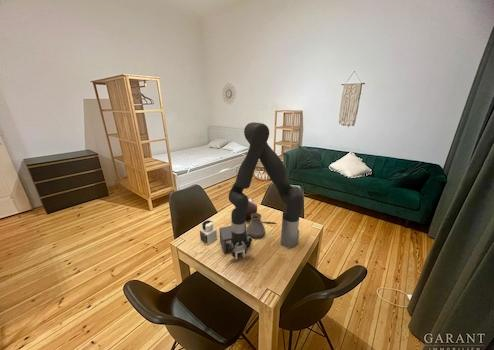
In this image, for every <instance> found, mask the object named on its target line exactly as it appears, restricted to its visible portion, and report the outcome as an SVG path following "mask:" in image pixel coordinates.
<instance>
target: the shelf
mask: <svg viewBox="0 0 494 350" xmlns="http://www.w3.org/2000/svg"><path fill="white" fill-rule="evenodd" d="M218 230H219V231H218V232H219V242H220V246H221V248H222V252H223V254H224V255H227V244H226V241H230V240H231V238H232V235H231V225H228V226H222V227H219V228H218ZM248 236H249V234H248V232H247V230H246V237H248ZM246 244H247V240H246V241H245V245H246ZM247 249H249V248H247Z"/></svg>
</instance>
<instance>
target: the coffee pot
mask: <svg viewBox="0 0 494 350" xmlns="http://www.w3.org/2000/svg"><path fill="white" fill-rule="evenodd" d="M264 224H267V225H274V227H277V222H274V221H262V215H261V213H258V212H257V213H253V214H252V215H251V219H250V222H249V223H248V226H247V228H246V231H247V233H248V236H251V238H252V237H253V238H260V237H261V236H263V235H264V233H265V232H266V228H265V226H264Z"/></svg>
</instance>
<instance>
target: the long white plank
mask: <svg viewBox="0 0 494 350" xmlns="http://www.w3.org/2000/svg"><path fill="white" fill-rule="evenodd" d="M230 248H232V243H231V245H230ZM240 253H241V255H242V257H243V259H245V258H246V255H245V249H244V247H243V245H242V246H238V247H237V249H236V250H235V258H234V259H235V260H238V254H240Z"/></svg>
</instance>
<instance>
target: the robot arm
mask: <svg viewBox="0 0 494 350" xmlns="http://www.w3.org/2000/svg"><path fill="white" fill-rule="evenodd" d="M243 134H244V138H245V140H246V141H247V142H248V143H249V147H248V148H249V149H248V151H247V153H246V156H245V158H244V159H243V161H242V162H241V164H240V166H239V169H238V170H237V174H236V178H235V182H234V183H233V184H232V187H231V188H230V190H229V192H228V200H229V203H231V204H232V205H233V206H234V208H233V209H232V210H231V215H230V217H231V223H230V224H231V225H230V226H231V235H232V238H231V240H230V241H226V248H227V249H228V250H227V251H228V252H229V253H231V256H232V258H234V259H235V250H236V249H237V247H238V246H242V245H243V247H244V249H245V256H246V254H247V251H248V250H247V248H248V249H250V248H251V245H252V242H253V238H252V236H251V235H248V237H246V231H247V227H248V226H247V220H246V212H247V208H248V204H249V200H248V198H249V197H248V195H246V194H245V193H243V191H244V190H246V189H250V187H251V184H252V181H253V180H252V179H253V177H254V172H255V170H256V168H257V165H258V162H259V161H260V164H261V165H262V166H263V168H264V170H265V172H266V174H267V176H268V177H269V179H270V181H271V182H272V183H273V185H274V186H275V188H276V190H277V192H278V194H279V196H280V199H281V202H282V203H283V204H284V205H285V206H286V209H285V210H284V211H282V217H281V231H280V232H281V233H280V245H282V246H283V247H284V248H287V249H292V248H293V249H294V248H295V247H296V246H297V245H299V238H300V229H299V226H300V225H299V224H300V218H301V215H302V212H303V207H304V198H303V196H302V195H301V194H300V193H299V192H298V191H297V190H295V189H294V188H293V187H292V185H291V184H290V181H289V180H288V179H289V178H288V171H287V169H286V166H285V164H284V163H283V161H282V159H281V158H280V156H279V155H278V154H277V153H276V152H275V151H274V150H273V148H272V147H271V146H270V145H269V144H268V141H269V137H270V129H269V127H268V126H267V125H266V124H265V123H261V122H253V121H252V122H249V123H247V124H246V126H245V127H244V129H243ZM246 240H247V244H246V245H245V241H246ZM231 243H232V248H231V246H230V245H231Z"/></svg>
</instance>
